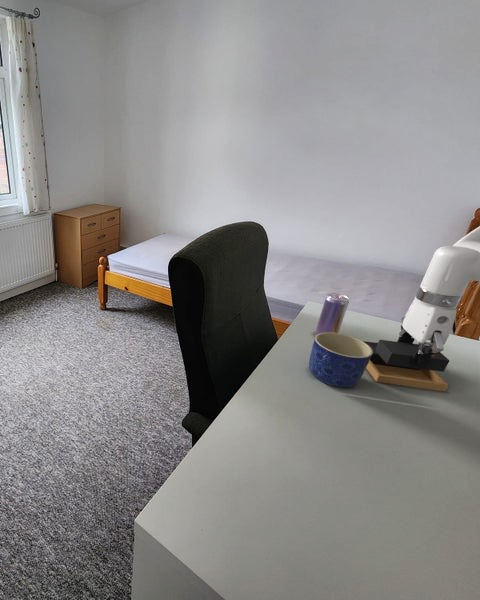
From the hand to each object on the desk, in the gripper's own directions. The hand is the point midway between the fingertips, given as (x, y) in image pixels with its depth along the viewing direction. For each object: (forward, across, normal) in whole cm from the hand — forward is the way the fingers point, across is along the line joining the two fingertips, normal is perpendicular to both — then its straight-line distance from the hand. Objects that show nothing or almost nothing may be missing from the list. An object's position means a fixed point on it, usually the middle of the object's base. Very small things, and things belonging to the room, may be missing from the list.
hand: (409, 357), depth 90 cm
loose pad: (+1, 0, 0) cm, 1 cm away
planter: (+7, -5, +18) cm, 20 cm away
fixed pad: (+6, +8, 0) cm, 10 cm away
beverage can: (+7, +18, +13) cm, 23 cm away
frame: (+7, +4, 0) cm, 8 cm away
